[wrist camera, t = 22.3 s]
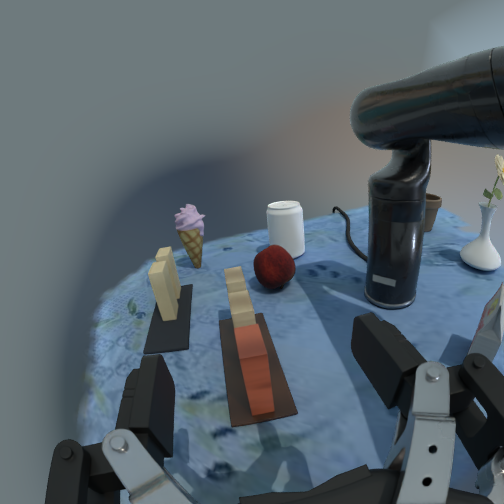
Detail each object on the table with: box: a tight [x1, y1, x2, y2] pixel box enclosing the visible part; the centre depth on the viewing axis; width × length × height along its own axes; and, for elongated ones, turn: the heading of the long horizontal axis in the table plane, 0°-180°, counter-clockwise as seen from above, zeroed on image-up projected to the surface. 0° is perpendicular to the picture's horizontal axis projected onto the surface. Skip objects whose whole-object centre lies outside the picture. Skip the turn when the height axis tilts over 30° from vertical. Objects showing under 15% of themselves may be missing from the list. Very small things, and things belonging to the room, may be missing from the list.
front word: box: [219, 266, 298, 427], centre depth 32 cm, size 20×7×9 cm, turn 9°
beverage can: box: [266, 201, 305, 258], centre depth 62 cm, size 8×8×12 cm
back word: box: [143, 247, 193, 354], centre depth 44 cm, size 20×7×9 cm, turn 9°
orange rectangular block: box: [234, 324, 274, 416], centre depth 25 cm, size 4×2×9 cm, turn 9°
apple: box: [254, 245, 295, 289], centre depth 49 cm, size 7×8×8 cm
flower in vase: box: [460, 154, 504, 271], centre depth 40 cm, size 13×11×25 cm
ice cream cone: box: [175, 204, 205, 268], centre depth 61 cm, size 7×6×15 cm
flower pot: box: [424, 193, 442, 232], centre depth 67 cm, size 12×11×10 cm
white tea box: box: [467, 282, 504, 362], centre depth 22 cm, size 4×7×10 cm, turn 128°
